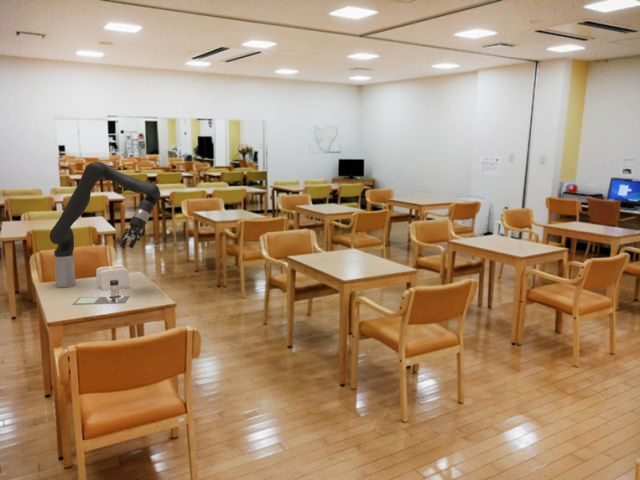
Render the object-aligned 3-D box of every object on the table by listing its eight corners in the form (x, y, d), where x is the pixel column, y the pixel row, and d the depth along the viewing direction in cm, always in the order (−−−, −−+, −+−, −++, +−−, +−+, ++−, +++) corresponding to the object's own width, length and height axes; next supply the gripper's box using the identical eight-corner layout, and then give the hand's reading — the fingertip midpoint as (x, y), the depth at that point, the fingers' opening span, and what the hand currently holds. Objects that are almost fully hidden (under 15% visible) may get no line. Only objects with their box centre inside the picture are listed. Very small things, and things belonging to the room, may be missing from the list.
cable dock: (71, 307, 263) (71, 302, 262) (79, 299, 275) (79, 294, 275) (124, 305, 266) (124, 300, 266) (130, 297, 278) (130, 293, 278)
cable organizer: (100, 292, 287) (98, 271, 285) (97, 287, 296) (95, 267, 293) (129, 288, 294) (128, 268, 292) (125, 284, 303) (124, 264, 301)
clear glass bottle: (110, 301, 269) (108, 282, 267) (112, 298, 273) (110, 279, 271) (118, 301, 270) (117, 281, 268) (120, 298, 274) (119, 279, 272)
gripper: (126, 216, 281) (112, 243, 275) (141, 215, 272) (127, 244, 266) (138, 223, 286) (124, 250, 281) (153, 222, 277) (139, 251, 271)
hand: (126, 247), depth 273 cm, fingers open, 8 cm apart
